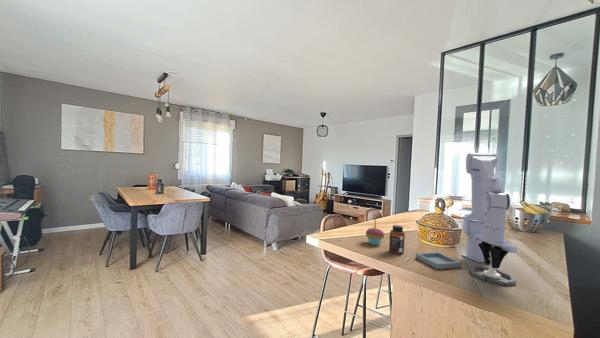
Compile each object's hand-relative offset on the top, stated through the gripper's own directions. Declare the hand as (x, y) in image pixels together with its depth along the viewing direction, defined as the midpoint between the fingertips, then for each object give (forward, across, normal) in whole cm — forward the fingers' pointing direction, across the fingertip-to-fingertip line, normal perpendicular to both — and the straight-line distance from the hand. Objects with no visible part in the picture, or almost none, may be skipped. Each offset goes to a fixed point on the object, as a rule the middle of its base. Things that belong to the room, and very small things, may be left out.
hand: (492, 266), depth 85 cm
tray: (+4, +12, +11) cm, 17 cm away
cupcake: (+4, +35, +27) cm, 45 cm away
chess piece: (+3, 0, 0) cm, 3 cm away
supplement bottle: (+4, +24, +22) cm, 33 cm away
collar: (+4, 0, 0) cm, 4 cm away
